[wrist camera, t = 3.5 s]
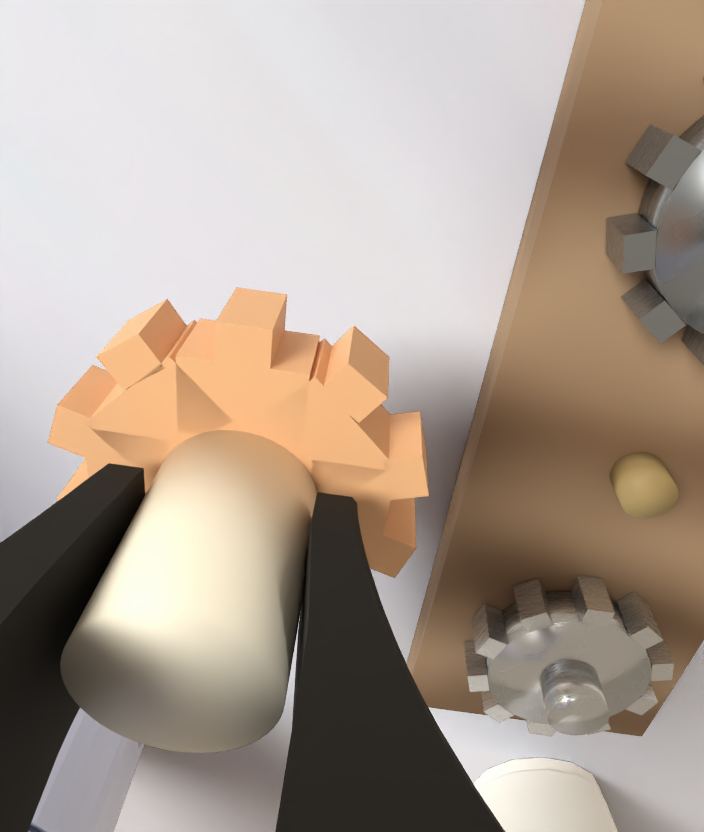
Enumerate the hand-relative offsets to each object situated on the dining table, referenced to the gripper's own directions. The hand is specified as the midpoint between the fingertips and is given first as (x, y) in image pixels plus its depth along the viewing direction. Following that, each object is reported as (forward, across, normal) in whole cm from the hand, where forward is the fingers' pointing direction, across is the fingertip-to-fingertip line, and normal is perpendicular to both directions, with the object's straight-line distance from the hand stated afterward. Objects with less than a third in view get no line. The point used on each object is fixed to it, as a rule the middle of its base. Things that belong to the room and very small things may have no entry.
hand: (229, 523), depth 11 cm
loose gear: (+2, 0, 0) cm, 2 cm away
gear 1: (+8, -11, +11) cm, 17 cm away
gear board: (+9, -11, +3) cm, 15 cm away
